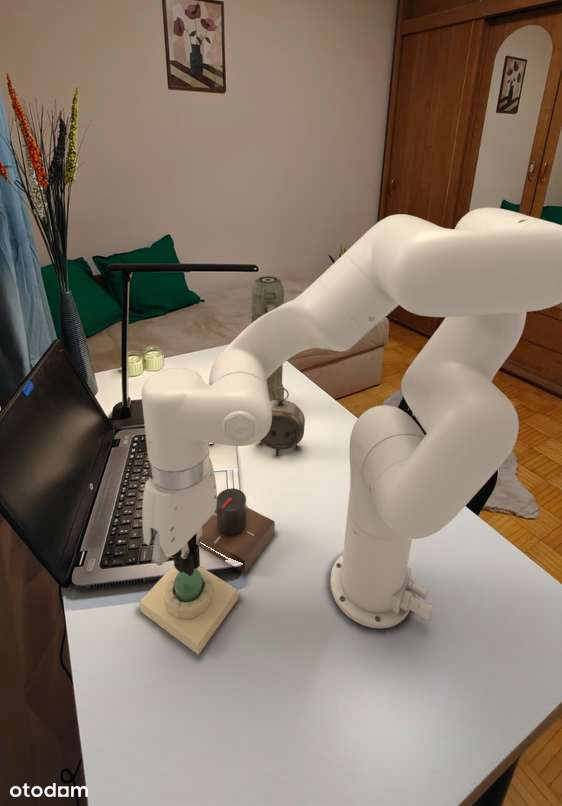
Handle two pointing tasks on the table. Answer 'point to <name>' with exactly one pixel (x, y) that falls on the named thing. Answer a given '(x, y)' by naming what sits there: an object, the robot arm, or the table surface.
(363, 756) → the table surface
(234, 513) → the knob
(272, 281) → the thermos
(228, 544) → the panel
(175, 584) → the green push button
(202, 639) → the push button housing
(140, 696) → the table surface
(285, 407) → the alarm clock
